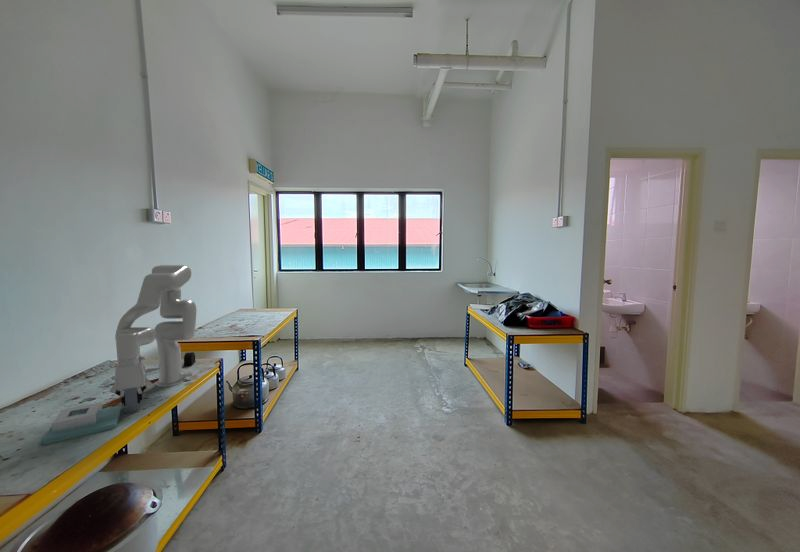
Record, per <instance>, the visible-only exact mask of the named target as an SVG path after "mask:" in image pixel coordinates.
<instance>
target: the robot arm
mask: <svg viewBox="0 0 800 552" xmlns="http://www.w3.org/2000/svg"><path fill="white" fill-rule="evenodd" d="M191 277H192V270H191V268H190V267H189V266H188V265H182V264H181V265H180V264H175V265H174V264H161V265H155V266H153V267H152V268H151V273H149V274H147V275H146V276H144V278H143V281H142V284H141V287H140V292H139V294H138V297H137V302H136V304H134V305H133V306H131V308H130V309H128V310H127V311H126V312H125V313H124V314H123V316H121V318H120V319H119V321H118V324H117V327H116V330H115V331H116V332H115V337H114V338H115V339H114V340H115V346H116V358H117V365H116V366H115V368H114V369H115V370H114V376H115V380H114V384H113V385H112V386H111V388H110V389H109V393H112V394H115V395H116V396H119V397H120V399H121V405H123V407H126V405H125V392H124V389H129V388H135V387H137V390H138V394H137V398H138V403H139V404H140V403H141V401H143V392H144V391H146V389H147V388H149V387H150V386H151V385H152V381H150V380H149V379H148V378H147V374H146V373H147V372H145V368H146V367H145V363H144V362H143V361H145V358H146V357H145V356H142V355H141V351H140V350H141V349H140V348H141V347H143V346H147V345H150V344H151V343H153V342H155V340H156V346H157V359H158V360H157V361H158V367H159V369H158V371H159V380H158V381H156V383H155V385H156V387H159V388H168V387H169V388H170V387H174V386H178V385H180V384H182V383H184V382H185V381H186V380H187V377H193V371H192V372H191V371H188V372H187V371H186V372H184V370H183V365H182V353H181V352H182V350H181V345H180V343H179V342H178V341H188V340H191V339H193V338H194V336H195V334H196V327H197V326H196V324H197V306H196V303H195V301H193V300H191V299H182V290H181V288H182V287H183V286H184V285H185V284H187V283H188V282H189V281H190V279H191ZM157 309H159V315H160V317H161V318H163V319H169V321H162V322H159V323H158V324H157V323H156V325H155V326H154V328H152V327H148V326H145V327H138V326H135V327H132V326H133V324H134V323H135V321H136V320H137V319H139V318H141V317H143V316H145V315H147V314H149V313H151V312H154V311H156V310H157ZM170 319H172V320H173V321H172V320H171V321H170ZM176 319H179V320H176ZM180 319H182V320H181V321H180ZM175 320H176V321H175Z"/></svg>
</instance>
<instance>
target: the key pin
mask: <svg viewBox="0 0 800 552" xmlns="http://www.w3.org/2000/svg"><path fill="white" fill-rule="evenodd" d="M124 392H125V405H126V406H125V414H126V415H129V413H130V414H134V413H138V412H139V410H140V403H138V398H137V394H138V390H137V387H135V388H129V389H124Z"/></svg>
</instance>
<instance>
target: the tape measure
mask: <svg viewBox="0 0 800 552" xmlns="http://www.w3.org/2000/svg"><path fill="white" fill-rule="evenodd" d="M196 361H197V360H196V354H195V352H193V351H192V352H191V351H190V352H185V353H184V355H183V367H192V366H193V365H194V364H195V363H196Z"/></svg>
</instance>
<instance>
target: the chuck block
mask: <svg viewBox="0 0 800 552" xmlns="http://www.w3.org/2000/svg"><path fill="white" fill-rule="evenodd" d="M123 410H124V409H123V404H120V405H116V406H111V407H106V408H105V407H104V408H103V403H102V402H97V403H96V402H95V403H91V404H86V405H82V406H75V407H69V408H66V409H61V410H60V412H59V413H58V414H57V416H55V418H54V420H53V421H52V423H51V426H50V428H49V429H48V431H47V432H46V433H45V435H44V436H43V438H42V439H41V443H42V446H43V445H47V444H51V443H52V444H53V443H58V442H62V441H65V440H70V439H73V438H77V437H78V438H79V437H83V436H86V435H90V434H91V433H92V434H95V432H96V433H99V432H100V433H101V432H103V431H104V430H105V431H109V430H112V429H113V430H114V429H116V428H117V426H116V425H117V424H118V422H119V419H120V418H121V417H120V416H121V414H122V412H121V411H123Z"/></svg>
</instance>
